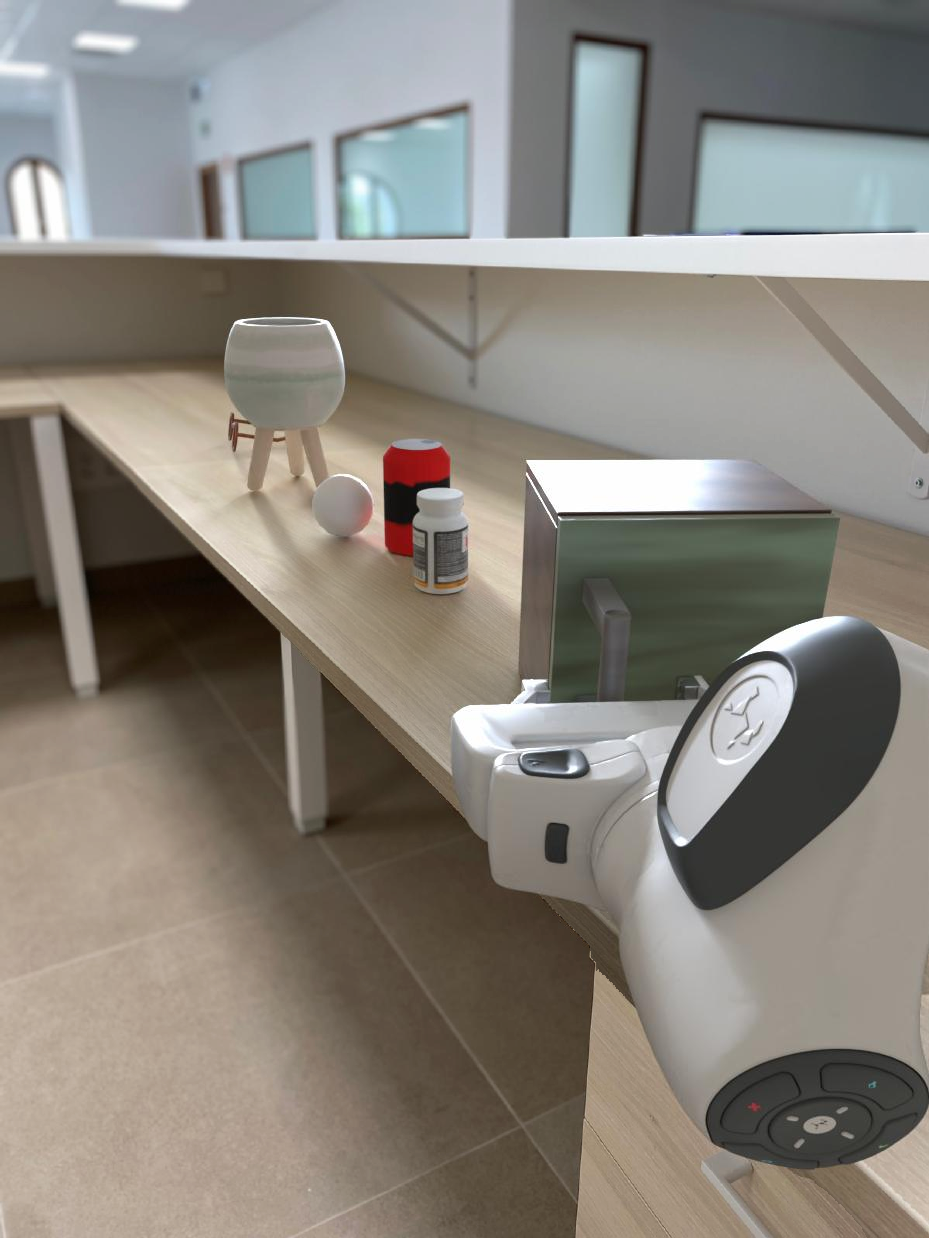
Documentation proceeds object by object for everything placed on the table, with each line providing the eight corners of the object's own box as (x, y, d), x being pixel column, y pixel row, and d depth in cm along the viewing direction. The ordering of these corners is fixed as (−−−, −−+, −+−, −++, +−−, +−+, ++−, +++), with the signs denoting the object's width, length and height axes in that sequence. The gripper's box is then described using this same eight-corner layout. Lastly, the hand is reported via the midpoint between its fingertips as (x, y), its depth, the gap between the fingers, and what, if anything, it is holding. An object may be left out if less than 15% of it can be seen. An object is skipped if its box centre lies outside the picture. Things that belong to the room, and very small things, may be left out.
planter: (299, 466, 143) (291, 314, 134) (372, 484, 133) (367, 322, 125) (211, 485, 132) (195, 321, 123) (283, 507, 122) (271, 330, 113)
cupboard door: (840, 813, 60) (894, 552, 53) (564, 823, 58) (582, 556, 51) (792, 750, 67) (833, 513, 60) (544, 757, 65) (557, 515, 58)
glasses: (227, 439, 160) (225, 410, 158) (303, 435, 163) (302, 407, 162) (233, 456, 148) (231, 425, 146) (315, 452, 152) (313, 421, 150)
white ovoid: (383, 540, 110) (381, 480, 107) (321, 547, 107) (318, 485, 105) (360, 517, 119) (358, 460, 116) (302, 523, 116) (299, 465, 113)
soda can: (463, 545, 109) (464, 444, 104) (419, 561, 103) (418, 455, 99) (415, 532, 113) (415, 434, 108) (371, 547, 108) (368, 444, 103)
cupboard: (790, 750, 67) (832, 509, 60) (543, 757, 66) (557, 512, 59) (725, 665, 80) (753, 459, 73) (518, 670, 78) (526, 460, 71)
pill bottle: (472, 578, 99) (473, 487, 95) (462, 598, 93) (463, 502, 89) (419, 575, 99) (419, 484, 96) (407, 594, 94) (406, 499, 90)
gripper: (901, 759, 43) (784, 636, 56) (462, 773, 41) (444, 644, 54) (876, 869, 46) (769, 728, 58) (461, 887, 44) (444, 738, 57)
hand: (610, 687), depth 56 cm, fingers open, 8 cm apart
